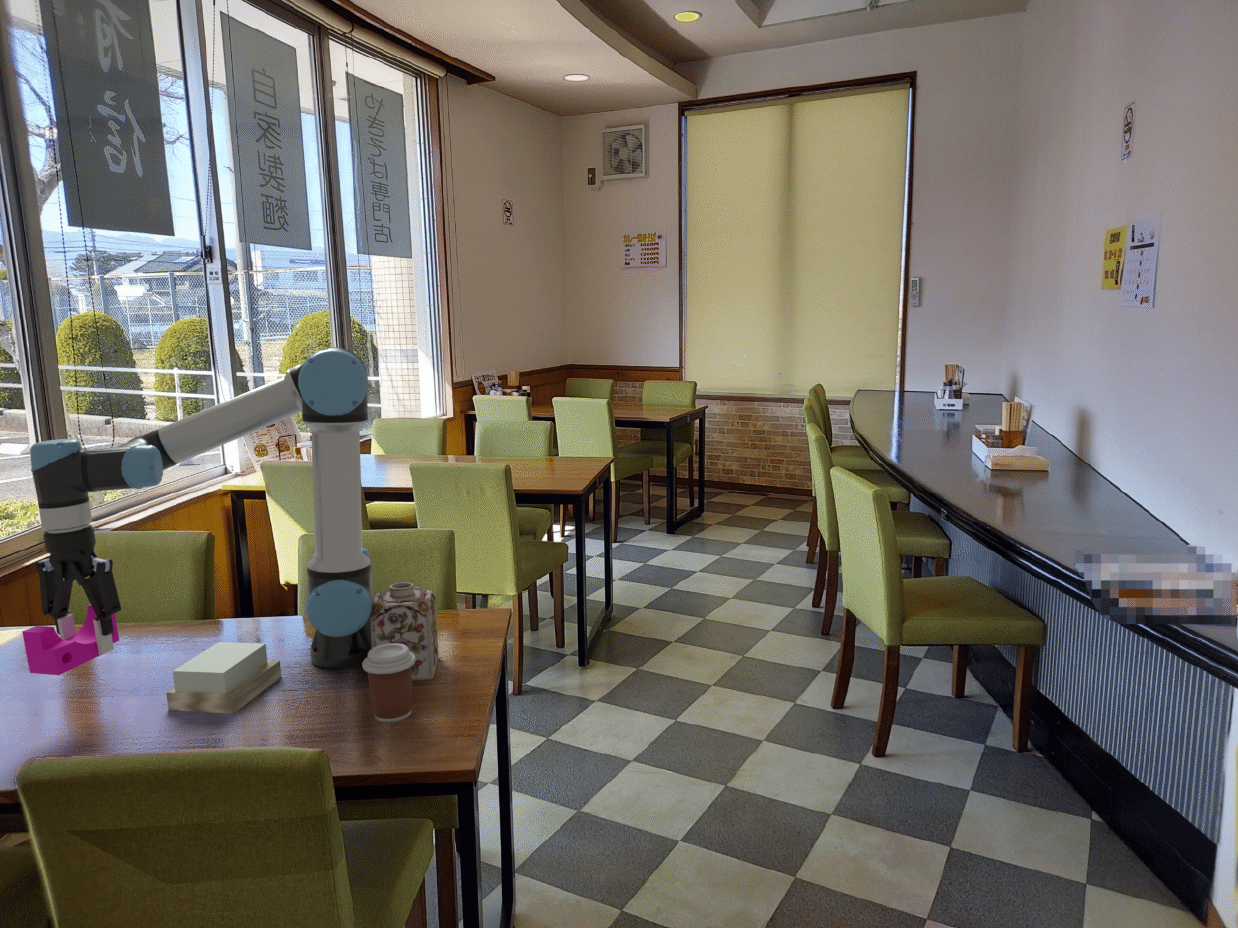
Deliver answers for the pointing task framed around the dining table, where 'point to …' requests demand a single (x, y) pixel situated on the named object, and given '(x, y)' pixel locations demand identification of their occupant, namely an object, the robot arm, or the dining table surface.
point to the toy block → (62, 647)
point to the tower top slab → (220, 667)
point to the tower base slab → (230, 699)
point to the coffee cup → (390, 681)
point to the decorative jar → (407, 624)
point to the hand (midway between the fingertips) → (88, 651)
